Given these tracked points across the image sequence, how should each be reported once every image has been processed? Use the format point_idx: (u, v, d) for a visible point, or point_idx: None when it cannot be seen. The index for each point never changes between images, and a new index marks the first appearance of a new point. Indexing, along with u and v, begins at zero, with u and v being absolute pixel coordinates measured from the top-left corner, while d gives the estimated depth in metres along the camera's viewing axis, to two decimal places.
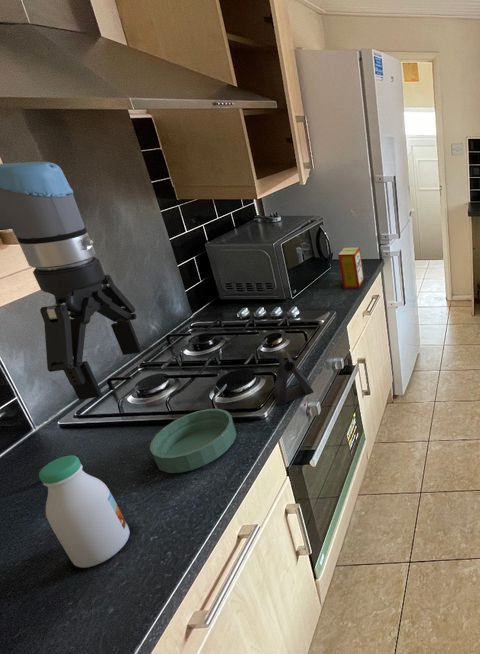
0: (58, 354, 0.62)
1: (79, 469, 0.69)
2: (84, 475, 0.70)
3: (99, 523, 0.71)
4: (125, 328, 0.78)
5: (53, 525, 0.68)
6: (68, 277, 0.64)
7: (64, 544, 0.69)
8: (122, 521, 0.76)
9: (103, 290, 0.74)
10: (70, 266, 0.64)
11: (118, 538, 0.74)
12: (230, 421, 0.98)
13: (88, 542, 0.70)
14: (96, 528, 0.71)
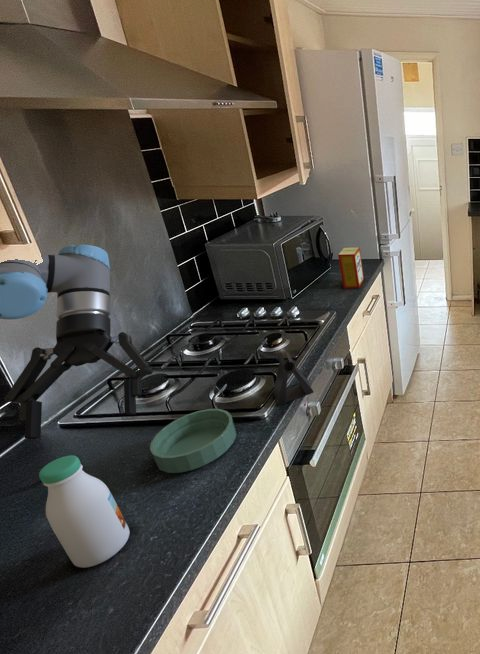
0: (145, 362, 0.83)
1: (79, 469, 0.69)
2: (84, 475, 0.70)
3: (99, 523, 0.71)
4: (39, 407, 0.76)
5: (53, 525, 0.68)
6: None
7: (64, 544, 0.69)
8: (122, 521, 0.76)
9: (41, 362, 0.78)
10: None
11: (118, 538, 0.74)
12: (230, 421, 0.98)
13: (88, 542, 0.70)
14: (96, 528, 0.71)
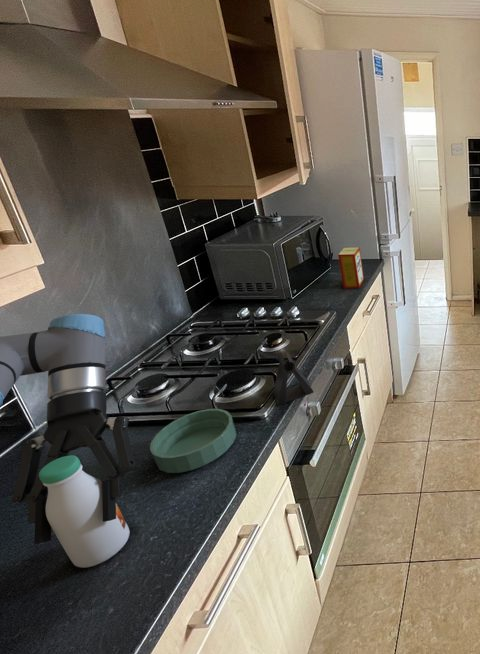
0: (130, 455, 0.76)
1: (79, 469, 0.69)
2: (84, 475, 0.70)
3: (99, 523, 0.71)
4: None
5: (53, 525, 0.68)
6: None
7: (64, 544, 0.69)
8: (122, 521, 0.76)
9: (36, 453, 0.71)
10: None
11: (118, 538, 0.74)
12: (230, 421, 0.98)
13: (88, 542, 0.70)
14: (96, 528, 0.71)
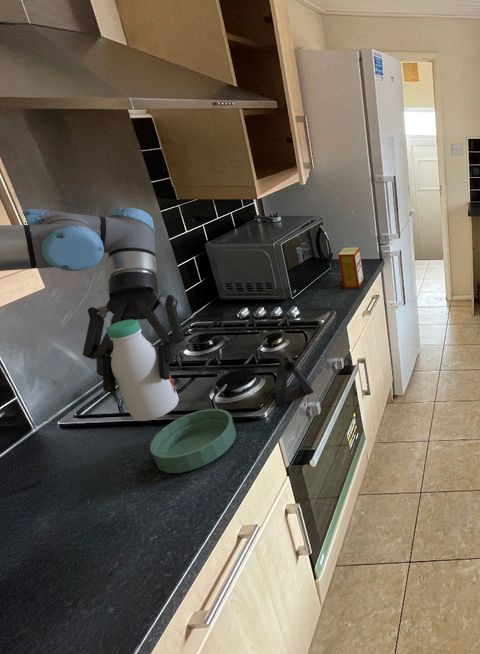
0: (180, 328, 0.86)
1: (139, 330, 0.79)
2: (143, 337, 0.80)
3: (155, 380, 0.81)
4: None
5: (118, 376, 0.78)
6: None
7: (126, 396, 0.80)
8: (173, 386, 0.86)
9: (100, 320, 0.82)
10: None
11: (170, 399, 0.85)
12: (230, 421, 0.98)
13: (146, 396, 0.81)
14: (153, 384, 0.81)
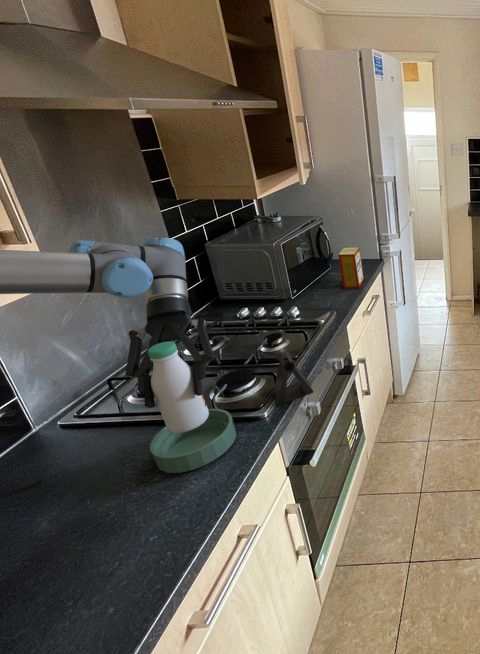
0: (211, 348, 0.94)
1: (176, 351, 0.88)
2: (179, 357, 0.89)
3: (190, 396, 0.90)
4: None
5: (157, 393, 0.87)
6: None
7: (164, 411, 0.88)
8: (204, 401, 0.94)
9: (139, 341, 0.90)
10: None
11: (202, 413, 0.93)
12: (230, 421, 0.98)
13: (182, 411, 0.89)
14: (188, 400, 0.90)
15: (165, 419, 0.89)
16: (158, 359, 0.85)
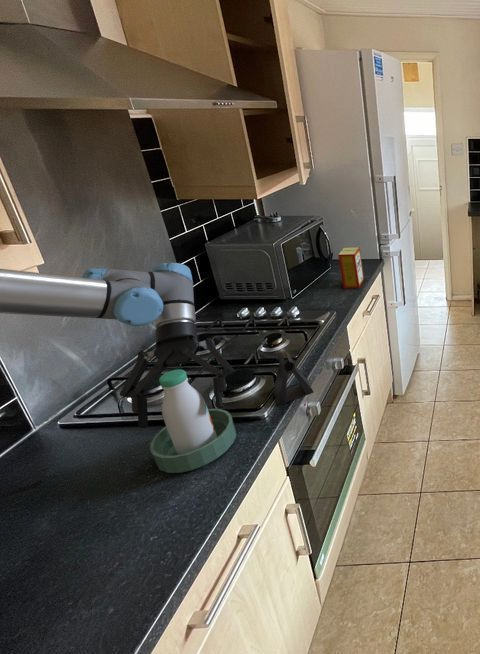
0: (227, 362, 0.98)
1: (186, 379, 0.91)
2: (189, 385, 0.92)
3: (199, 422, 0.92)
4: (145, 400, 0.90)
5: (168, 420, 0.89)
6: None
7: (174, 437, 0.91)
8: (213, 426, 0.97)
9: (145, 363, 0.93)
10: None
11: (211, 437, 0.96)
12: (230, 421, 0.98)
13: (191, 437, 0.92)
14: (197, 426, 0.92)
15: (175, 444, 0.92)
16: (169, 387, 0.88)
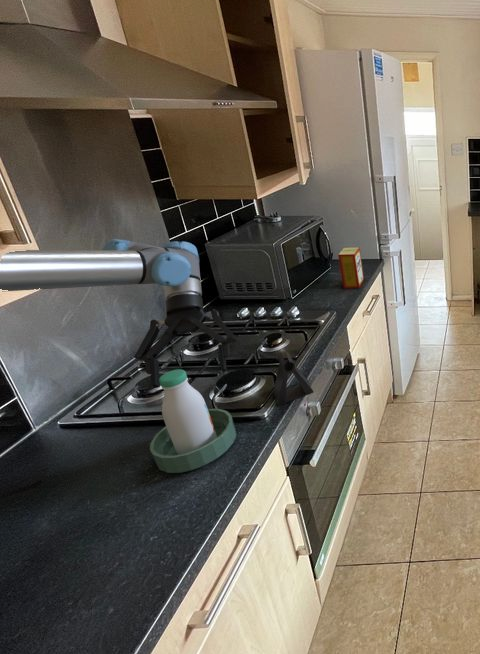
0: None
1: (186, 379, 0.91)
2: (189, 385, 0.92)
3: (199, 422, 0.92)
4: (157, 363, 1.00)
5: (168, 420, 0.89)
6: None
7: (174, 437, 0.91)
8: (213, 426, 0.97)
9: (156, 331, 1.02)
10: None
11: (211, 437, 0.96)
12: (230, 421, 0.98)
13: (191, 437, 0.92)
14: (197, 426, 0.92)
15: (175, 444, 0.92)
16: (169, 387, 0.88)
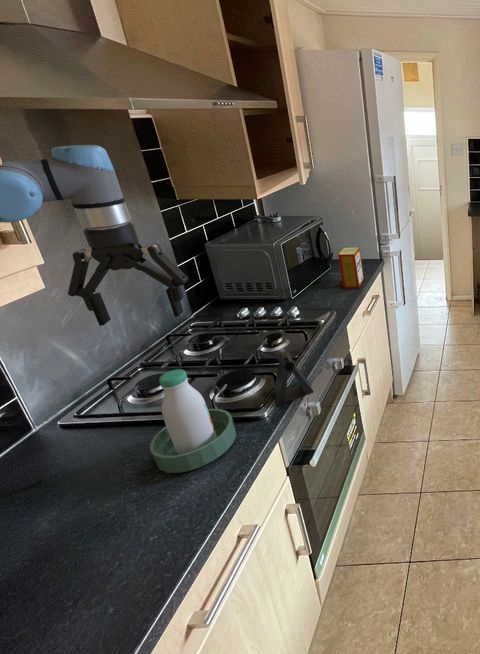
0: (179, 272, 0.91)
1: (186, 379, 0.91)
2: (189, 385, 0.92)
3: (199, 422, 0.92)
4: (99, 298, 0.88)
5: (168, 420, 0.89)
6: (134, 228, 0.87)
7: (174, 437, 0.91)
8: (213, 426, 0.97)
9: (85, 263, 0.85)
10: (127, 221, 0.86)
11: (211, 437, 0.96)
12: (230, 421, 0.98)
13: (191, 437, 0.92)
14: (197, 426, 0.92)
15: (175, 444, 0.92)
16: (169, 387, 0.88)
